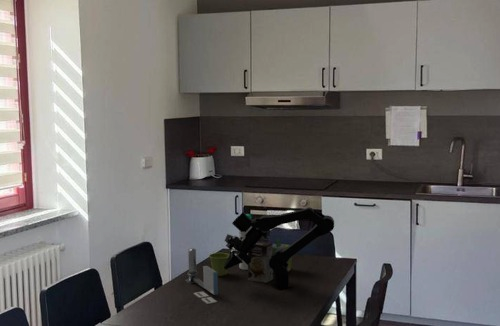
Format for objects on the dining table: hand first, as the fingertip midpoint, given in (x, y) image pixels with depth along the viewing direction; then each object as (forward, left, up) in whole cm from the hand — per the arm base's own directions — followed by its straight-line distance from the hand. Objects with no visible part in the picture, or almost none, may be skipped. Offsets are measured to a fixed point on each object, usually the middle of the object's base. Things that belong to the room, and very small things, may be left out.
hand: (224, 268), depth 255 cm
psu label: (-2, +11, -9) cm, 15 cm away
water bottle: (+24, -22, -9) cm, 33 cm away
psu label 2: (-10, +11, -9) cm, 18 cm away
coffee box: (+5, -19, -9) cm, 22 cm away
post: (+17, +7, -9) cm, 20 cm away
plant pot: (+21, -7, -9) cm, 24 cm away
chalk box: (+13, -33, -9) cm, 36 cm away
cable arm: (+3, +8, -8) cm, 11 cm away
